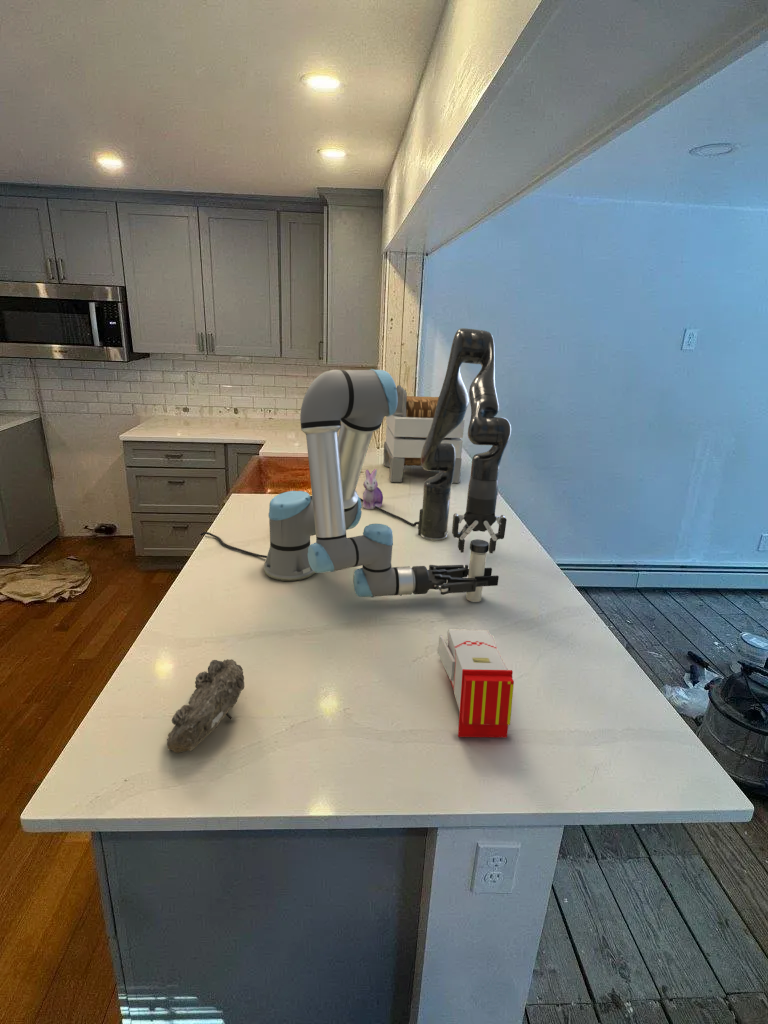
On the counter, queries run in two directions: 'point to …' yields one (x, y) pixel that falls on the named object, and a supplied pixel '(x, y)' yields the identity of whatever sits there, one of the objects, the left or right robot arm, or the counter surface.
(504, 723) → the toy
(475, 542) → the lid
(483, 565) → the jar
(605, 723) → the counter surface
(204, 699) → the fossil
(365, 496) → the figurine
